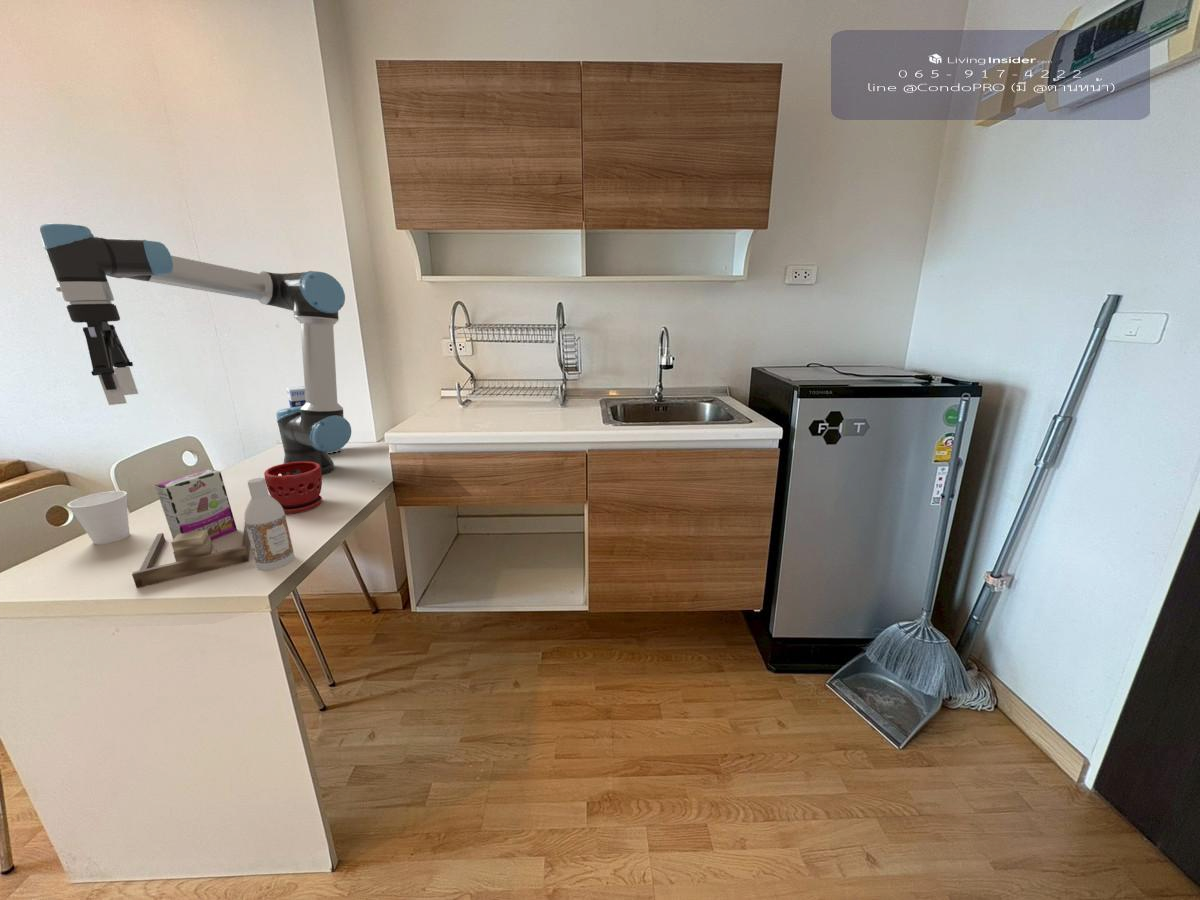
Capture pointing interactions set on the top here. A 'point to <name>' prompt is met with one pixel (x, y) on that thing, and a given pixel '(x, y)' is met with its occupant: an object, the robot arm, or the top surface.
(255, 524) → the bath foam
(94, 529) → the cup
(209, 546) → the offcut mid
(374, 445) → the top surface
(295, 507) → the plant pot
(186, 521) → the candy bar box
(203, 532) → the offcut top
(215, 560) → the wooden frame
